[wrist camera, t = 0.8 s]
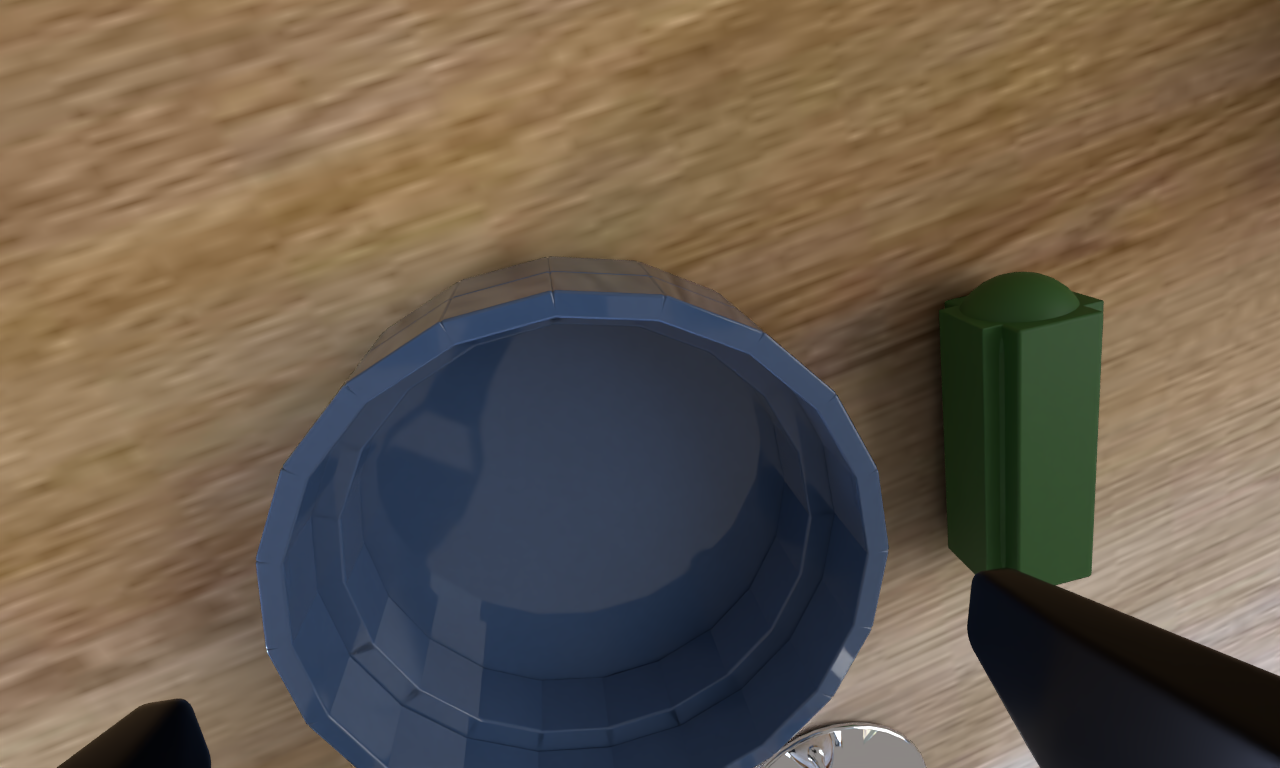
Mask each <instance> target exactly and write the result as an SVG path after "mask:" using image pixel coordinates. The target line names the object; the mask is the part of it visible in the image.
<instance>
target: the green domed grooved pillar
mask: <svg viewBox="0 0 1280 768" xmlns="http://www.w3.org/2000/svg"><path fill="white" fill-rule="evenodd" d="M1103 305H1104V302H1103V300H1099V299H1096V298H1093V297H1089V296H1086V295H1082V294H1079V293H1076V292H1072V291H1071V290H1070V289H1069V288H1068V287H1067V286H1065V285H1064V284H1062V283H1060V282H1059V281H1057V280H1055V279H1054V278H1051V277H1048V276H1045V275H1042V274H1039V273H1034V272H1013V273H1007V274H1002V275H999V276H996V277H994V278H991V279H989V280H987V281H985V282H983V283H982V284H981V285H979V286H978V287H977V288H975V289H974V290H973V291H972V292H971V293H970V294H969V295H968V296H964V297H960V298H955V299H951V300H947V301H945V303H944V306H945V309H941V310H939V325H940V351H941V376H942V401H943V426H944V451H945V476H946V501H947V526H948V548H949V549H950V550H951V551H952V552H953V553H954V554H955V555H956V556H957V557H958V558H959V559H960V560H961V561H962V562H963V563H964V564H965V565H966V566H967V567H968V568H969V569H970V570H971V571H972V572H973V573H974V574H975V575H976V574H977V573H978V572H980V571H985V570H992V569H998V568H1005V567H1007V568H1013V569H1016V570H1018V571H1021V572H1023V573H1026V574H1028V575H1031V576H1033V577H1036V578H1038V579H1040V580H1043V581H1045V582H1048V583H1050V584H1053V585H1058V584H1062V583H1066V582H1070V581H1073V580H1077V579H1081V578H1085V577H1089V576H1090V575H1091V571H1092V549H1093V527H1094V505H1095V484H1096V462H1097V440H1098V418H1099V397H1100V375H1101V353H1102V331H1103Z"/></svg>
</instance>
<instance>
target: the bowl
mask: <svg viewBox="0 0 1280 768" xmlns="http://www.w3.org/2000/svg"><path fill="white" fill-rule="evenodd" d="M888 549H889V546H888V539H887V531H886V524H885V517H884V510H883V502H882V495H881V488H880V480H879V473H878V470H877V467H876V464H875V463H874V461H873V459H872V457H871V455H870V454H869V452H868V450H867V448H866V446H865V444H864V443H863V441H862V439H861V437H860V435H859V434H858V432H857V430H856V428H855V426H854V424H853V423H852V421H851V419H850V417H849V415H848V414H847V412H846V410H845V408H844V406H843V404H842V403H841V401H840V399H839V397H838V395H837V394H836V393H835V391H833V390H832V389H831V388H830V387H829V386H828V385H826V384H825V383H824V382H823V381H822V380H821V379H819V378H818V377H817V376H816V375H815V374H814V373H812V372H811V371H810V370H809V369H808V368H807V367H805V366H804V365H803V364H802V363H801V362H799V361H798V360H797V359H796V358H795V357H794V356H792V355H791V354H790V353H789V352H788V351H787V350H785V349H784V348H783V347H782V346H781V345H780V344H778V343H777V342H776V341H775V340H774V339H773V338H771V337H770V336H769V335H768V334H767V333H765V332H764V331H763V330H762V329H761V328H760V327H758V326H757V325H756V324H755V323H754V322H752V321H751V320H750V319H749V318H748V317H747V316H745V315H744V314H743V313H742V312H741V311H740V310H738V309H737V308H736V307H735V306H734V305H732V304H731V303H730V302H729V301H728V300H727V299H725V298H724V297H723V296H722V295H721V294H719V293H717V292H716V291H715V290H712V289H709V288H707V287H704V286H702V285H699V284H696V283H694V282H691V281H689V280H686V279H683V278H681V277H678V276H676V275H673V274H671V273H668V272H665V271H663V270H660V269H658V268H655V267H652V266H650V265H647V264H645V263H642V262H637V261H633V260H613V259H592V258H572V257H551V256H550V257H548V258H547V257H544V258H540V259H537V260H533V261H529V262H526V263H522V264H518V265H515V266H511V267H507V268H503V269H500V270H496V271H492V272H489V273H485V274H481V275H478V276H474V277H470V278H467V279H463V280H461V281H460V282H457V283H455V284H453V285H452V286H450V287H449V288H447V289H446V290H444V291H443V292H441V293H440V294H438V295H437V296H435V297H434V298H432V299H431V300H429V301H428V302H426V303H425V304H423V305H422V306H420V307H419V308H417V309H416V310H414V311H413V312H411V313H410V314H408V315H407V316H405V317H404V318H402V319H401V320H399V321H398V322H396V323H395V324H393V325H392V326H390V327H389V328H387V329H386V331H385V332H383V333H382V334H381V335H380V337H379V338H378V339H377V341H376V342H375V343H374V345H373V346H372V347H371V349H370V350H369V351H368V353H367V354H366V355H365V357H364V358H363V359H362V361H361V362H360V363H359V364H358V366H357V367H356V368H355V370H354V371H353V372H352V374H351V375H350V376H349V378H348V379H347V380H346V382H345V383H344V384H343V386H342V387H341V388H340V390H339V391H338V392H337V394H336V395H335V396H334V398H333V399H332V400H331V402H330V403H329V404H328V406H327V407H326V408H325V410H324V411H323V412H322V414H321V415H320V416H319V418H318V419H317V420H316V422H315V423H314V424H313V426H312V427H311V428H310V430H309V431H308V432H307V434H306V435H305V436H304V438H303V439H302V440H301V442H300V443H299V444H298V446H297V447H296V448H295V450H294V451H293V452H292V454H291V455H290V456H289V458H288V459H287V460H286V462H285V463H284V464H283V467H282V469H281V470H280V474H279V477H278V481H277V484H276V488H275V491H274V495H273V498H272V502H271V506H270V509H269V513H268V516H267V520H266V523H265V527H264V530H263V534H262V537H261V541H260V545H259V548H258V552H257V555H256V569H257V578H258V586H259V594H260V603H261V611H262V619H263V628H264V636H265V644H266V648H267V653H268V655H269V657H270V659H271V660H272V662H273V664H274V666H275V668H276V669H277V671H278V673H279V675H280V677H281V679H282V680H283V682H284V684H285V686H286V688H287V689H288V691H289V693H290V695H291V697H292V698H293V700H294V702H295V704H296V706H297V708H298V709H299V711H300V713H301V715H302V717H303V718H304V720H305V722H306V724H309V727H310V728H312V729H313V730H314V731H315V732H316V733H317V734H318V735H319V736H321V737H322V738H323V739H324V740H325V741H326V742H327V743H329V744H330V745H331V746H332V747H333V748H334V749H335V750H337V751H338V752H339V753H340V754H341V755H342V756H343V757H344V758H346V759H347V760H348V761H349V762H350V763H351V764H352V765H354V766H355V767H356V768H754V767H756V766H757V765H759V764H761V763H762V762H764V761H766V760H767V759H769V758H771V757H773V754H776V753H777V752H778V751H779V750H780V749H781V748H782V747H783V746H784V745H785V744H786V743H787V742H788V741H789V740H790V739H791V738H792V737H793V736H794V735H795V734H796V733H797V732H798V731H799V730H800V729H801V728H802V727H803V726H804V725H805V724H806V723H807V722H808V721H809V720H810V719H811V718H812V717H813V716H815V715H816V714H817V713H818V712H819V711H820V710H821V709H822V708H823V707H824V706H825V705H826V704H827V703H828V702H829V701H830V700H831V697H833V696H834V694H835V693H836V691H837V689H838V687H839V686H840V684H841V682H842V680H843V679H844V677H845V675H846V673H847V672H848V670H849V668H850V666H851V665H852V663H853V661H854V659H855V658H856V656H857V654H858V652H859V651H860V649H861V647H862V645H863V644H864V642H865V640H866V638H867V637H868V635H869V633H870V631H871V627H872V626H873V622H874V617H875V613H876V608H877V603H878V599H879V594H880V589H881V584H882V580H883V575H884V570H885V566H886V561H887V556H888Z"/></svg>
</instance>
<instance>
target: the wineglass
mask: <svg viewBox="0 0 1280 768" xmlns="http://www.w3.org/2000/svg"><path fill="white" fill-rule="evenodd" d="M761 768H927V767H926V764H925V762H924V759H923V757H922V754H921V752H920V751H919V750H918V748H917V747H916V746H915V744H914V743H913V742H912V741H911V740H909V739H908V738H907V737H906V736H904V735H903V734H902V733H900V732H898V731H896V730H893V729H891V728H889V727H887V726H883V725H878V724H873V723H863V722H849V723H842V724H835V725H830V726H827V727H823V728H820V729H817V730H813V731H811V732H809V733H807V734H805V735H803V736H801V737H798V738H796V739H795V740H793V741H792V742H790V743H788V744H787V745H785V746H784V747H782V748H781V749H780V750H779V751H778V752H777V753H776V754H774V755H773V757H771V758H769V759H768V760H767V761H766V762H765V763H764V764H763V766H762V767H761Z"/></svg>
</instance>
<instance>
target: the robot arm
mask: <svg viewBox="0 0 1280 768" xmlns="http://www.w3.org/2000/svg"><path fill="white" fill-rule="evenodd" d="M967 630H968V637H969V641H970V643H971V646H972V648H973V650H974V652H975V654H976V656H977V657H978V659H979V661H980V663H981V665H982V666H983V668H984V670H985V672H986V674H987V675H988V677H989V679H990V681H991V682H992V684H993V686H994V688H995V690H996V691H997V693H998V695H999V697H1000V698H1001V700H1002V702H1003V704H1004V706H1005V707H1006V709H1007V711H1008V713H1009V714H1010V716H1011V718H1012V720H1013V722H1014V723H1015V725H1016V727H1017V729H1018V730H1019V732H1020V734H1021V736H1022V738H1023V739H1024V741H1025V743H1026V745H1027V746H1028V748H1029V750H1030V752H1031V753H1032V755H1033V757H1034V758H1035V760H1036V762H1037V763H1038V765H1039V767H1040V768H1280V676H1278V675H1275V674H1273V673H1270V672H1268V671H1265V670H1263V669H1261V668H1258V667H1256V666H1253V665H1251V664H1248V663H1246V662H1243V661H1241V660H1238V659H1236V658H1233V657H1231V656H1228V655H1226V654H1223V653H1221V652H1218V651H1216V650H1214V649H1211V648H1209V647H1206V646H1204V645H1201V644H1199V643H1196V642H1194V641H1191V640H1189V639H1186V638H1184V637H1181V636H1179V635H1176V634H1174V633H1171V632H1169V631H1167V630H1164V629H1162V628H1159V627H1157V626H1154V625H1152V624H1149V623H1147V622H1144V621H1142V620H1139V619H1137V618H1134V617H1132V616H1129V615H1127V614H1124V613H1122V612H1120V611H1117V610H1115V609H1112V608H1110V607H1107V606H1105V605H1102V604H1100V603H1097V602H1095V601H1092V600H1090V599H1087V598H1085V597H1082V596H1080V595H1078V594H1075V593H1073V592H1070V591H1068V590H1065V589H1063V588H1060V587H1058V586H1055V585H1053V584H1050V583H1048V582H1045V581H1043V580H1040V579H1038V578H1036V577H1033V576H1031V575H1028V574H1026V573H1023V572H1021V571H1018V570H1016V569H1013V568H1007V567H1005V568H998V569H992V570H985V571H980V572H978V573H977V574H976V575H975V576H974V578H973V580H972V585H971V594H970V604H969V614H968V624H967ZM57 768H211V758H210V754H209V750H208V748H207V745H206V742H205V740H204V737H203V734H202V732H201V729H200V727H199V724H198V721H197V719H196V716H195V713H194V711H193V708H192V707H191V705H190V704H189V703H188V702H187V701H186V700H184V699H171V700H165V701H159V702H152V703H148V704H144V705H142V706H139V707H138V708H136V709H135V710H134V711H132V712H131V713H130V714H128V715H127V716H126V717H124V718H123V719H122V720H120V721H119V722H117V723H116V724H115V725H113V726H112V727H111V728H109V729H108V730H107V731H105V732H104V733H103V734H101V735H100V736H99V737H97V738H96V739H95V740H93V741H92V742H91V743H89V744H88V745H87V746H85V747H84V748H82V749H81V750H80V751H78V752H77V753H76V754H74V755H73V756H72V757H70V758H69V759H68V760H66V761H65V762H64V763H62V764H61V765H60V766H58V767H57Z"/></svg>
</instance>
